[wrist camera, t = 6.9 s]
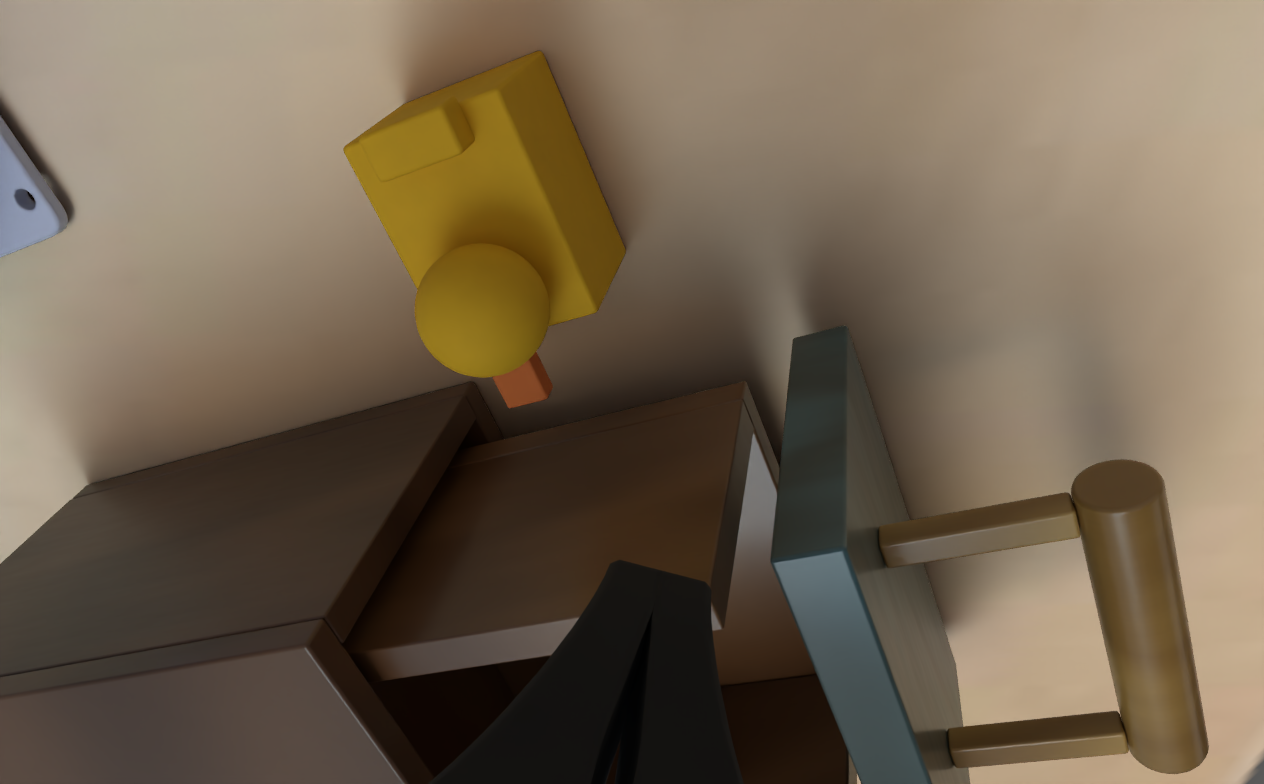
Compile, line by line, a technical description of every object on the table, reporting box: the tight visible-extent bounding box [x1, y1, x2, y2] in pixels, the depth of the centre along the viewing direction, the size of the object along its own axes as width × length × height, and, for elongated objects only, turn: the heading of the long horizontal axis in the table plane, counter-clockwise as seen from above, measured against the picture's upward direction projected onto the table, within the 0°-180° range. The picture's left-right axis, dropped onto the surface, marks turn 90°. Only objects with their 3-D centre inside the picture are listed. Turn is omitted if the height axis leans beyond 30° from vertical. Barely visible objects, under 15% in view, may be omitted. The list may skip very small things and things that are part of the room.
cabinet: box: [0, 382, 504, 784], centre depth 25 cm, size 13×11×9 cm
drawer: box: [342, 326, 1209, 784], centre depth 21 cm, size 17×10×7 cm, turn 112°
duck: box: [343, 51, 626, 408], centre depth 19 cm, size 6×3×5 cm, turn 22°
